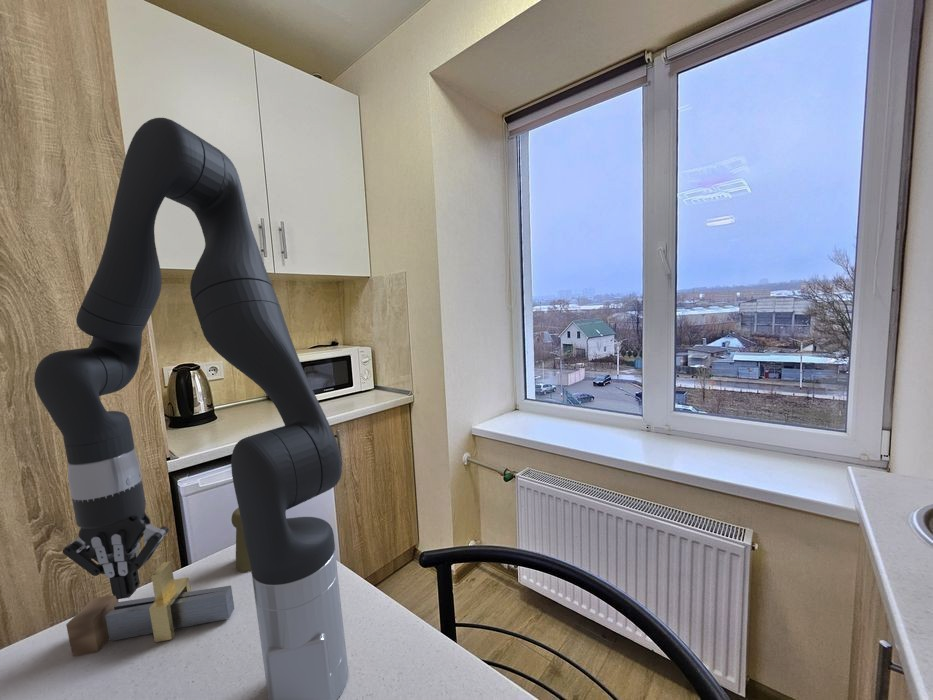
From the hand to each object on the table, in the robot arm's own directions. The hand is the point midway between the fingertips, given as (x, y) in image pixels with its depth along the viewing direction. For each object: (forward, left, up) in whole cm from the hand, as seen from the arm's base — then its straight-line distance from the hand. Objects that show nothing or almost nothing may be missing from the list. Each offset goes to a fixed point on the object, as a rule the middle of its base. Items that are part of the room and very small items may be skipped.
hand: (127, 594), depth 58 cm
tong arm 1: (-2, -6, -6) cm, 8 cm away
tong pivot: (0, +4, -6) cm, 8 cm away
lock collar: (-1, -6, -6) cm, 8 cm away
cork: (+12, -13, -6) cm, 19 cm away
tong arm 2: (0, -6, -6) cm, 8 cm away
